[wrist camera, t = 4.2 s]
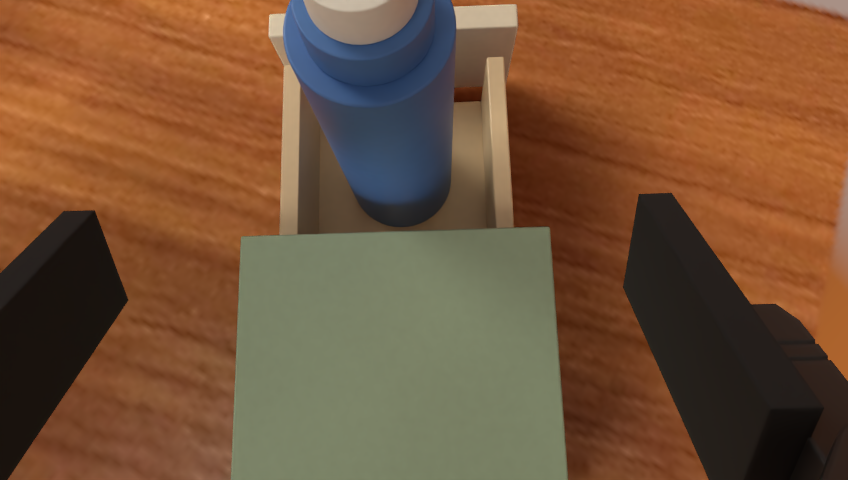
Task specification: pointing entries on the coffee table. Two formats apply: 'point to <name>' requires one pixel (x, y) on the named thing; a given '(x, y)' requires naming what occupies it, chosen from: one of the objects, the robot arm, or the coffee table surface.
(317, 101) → the bottle
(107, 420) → the coffee table surface
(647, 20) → the coffee table surface
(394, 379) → the cabinet
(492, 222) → the drawer
